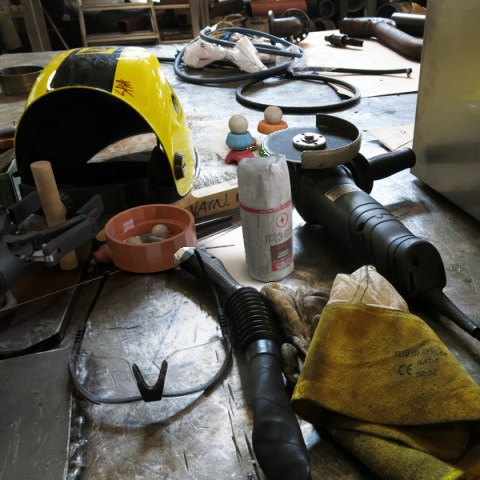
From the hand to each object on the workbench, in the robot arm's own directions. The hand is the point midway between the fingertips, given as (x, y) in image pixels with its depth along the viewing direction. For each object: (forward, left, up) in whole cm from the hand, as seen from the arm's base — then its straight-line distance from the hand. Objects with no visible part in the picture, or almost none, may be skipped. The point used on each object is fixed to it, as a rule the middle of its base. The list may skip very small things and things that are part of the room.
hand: (69, 200), depth 78 cm
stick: (+2, -4, -10) cm, 11 cm away
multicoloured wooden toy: (-9, +52, -10) cm, 54 cm away
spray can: (+29, +15, -10) cm, 34 cm away
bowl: (+10, +7, -10) cm, 16 cm away
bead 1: (+9, +4, -8) cm, 12 cm away
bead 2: (+9, +10, -8) cm, 15 cm away
